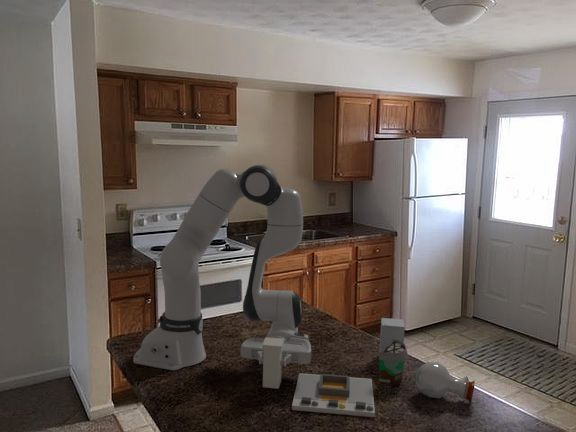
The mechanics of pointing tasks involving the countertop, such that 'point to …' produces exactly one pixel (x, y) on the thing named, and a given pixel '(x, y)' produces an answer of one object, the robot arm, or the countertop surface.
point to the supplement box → (391, 332)
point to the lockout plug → (272, 362)
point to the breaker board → (334, 395)
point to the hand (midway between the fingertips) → (272, 362)
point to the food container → (392, 363)
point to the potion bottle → (442, 382)
